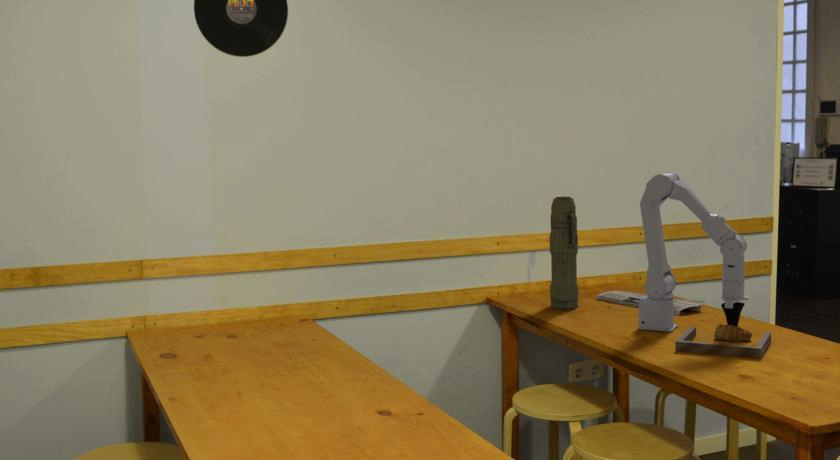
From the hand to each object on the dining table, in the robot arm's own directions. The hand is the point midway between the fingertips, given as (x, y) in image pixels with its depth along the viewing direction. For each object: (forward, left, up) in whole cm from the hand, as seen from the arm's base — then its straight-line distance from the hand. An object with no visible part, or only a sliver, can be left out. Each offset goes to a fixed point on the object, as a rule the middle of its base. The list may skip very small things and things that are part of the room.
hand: (732, 329), depth 265 cm
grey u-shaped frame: (0, -13, -2) cm, 13 cm away
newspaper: (-31, +33, -2) cm, 45 cm away
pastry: (0, -4, -2) cm, 5 cm away
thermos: (-55, +20, -2) cm, 59 cm away
